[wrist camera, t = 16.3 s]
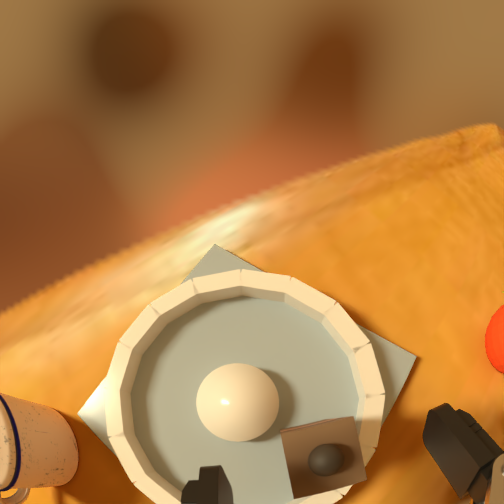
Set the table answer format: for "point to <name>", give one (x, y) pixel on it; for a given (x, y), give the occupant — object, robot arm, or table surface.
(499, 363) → the clementine
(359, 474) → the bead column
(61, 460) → the teacup with lid
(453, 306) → the table surface
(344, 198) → the table surface
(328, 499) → the groove dish
